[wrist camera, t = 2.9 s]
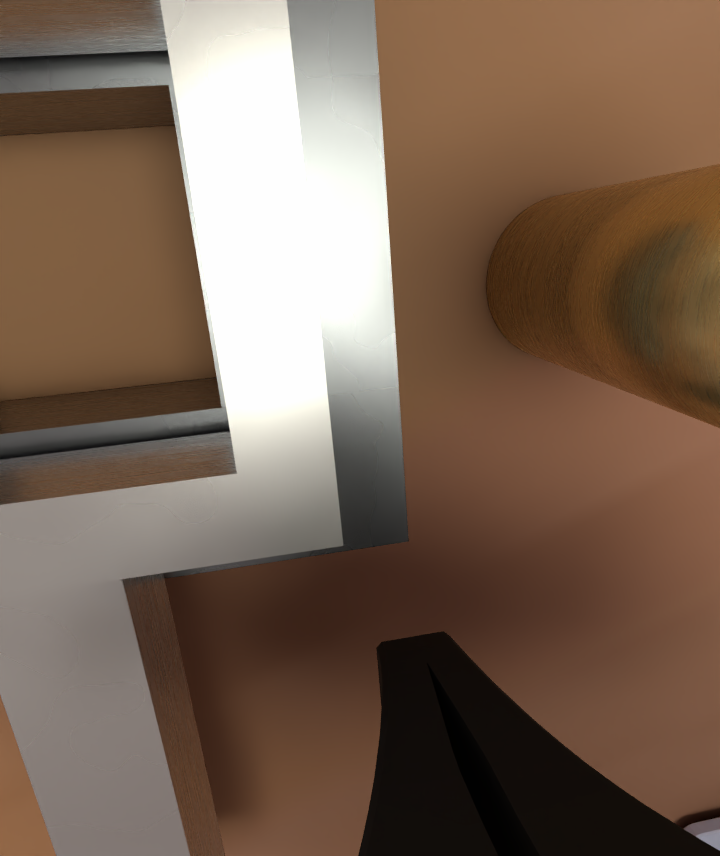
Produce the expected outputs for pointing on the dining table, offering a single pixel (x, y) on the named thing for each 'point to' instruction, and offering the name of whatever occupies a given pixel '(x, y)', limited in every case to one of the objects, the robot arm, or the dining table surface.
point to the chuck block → (332, 252)
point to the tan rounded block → (620, 287)
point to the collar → (169, 449)
